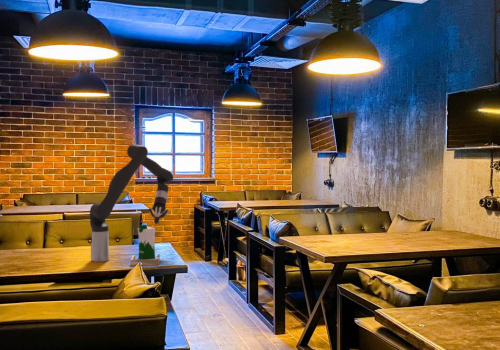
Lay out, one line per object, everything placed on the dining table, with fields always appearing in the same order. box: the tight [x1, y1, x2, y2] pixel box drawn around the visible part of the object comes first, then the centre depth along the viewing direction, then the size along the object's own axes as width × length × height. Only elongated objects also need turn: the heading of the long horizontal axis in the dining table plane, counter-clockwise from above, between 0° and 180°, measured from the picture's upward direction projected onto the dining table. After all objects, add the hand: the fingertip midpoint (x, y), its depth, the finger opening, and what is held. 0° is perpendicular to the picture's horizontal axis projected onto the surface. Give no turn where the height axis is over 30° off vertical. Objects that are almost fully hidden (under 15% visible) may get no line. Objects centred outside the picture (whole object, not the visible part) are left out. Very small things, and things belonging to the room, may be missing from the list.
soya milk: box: [137, 224, 156, 260], centre depth 291 cm, size 9×9×20 cm
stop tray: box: [129, 253, 161, 267], centre depth 279 cm, size 15×15×3 cm
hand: (156, 223), depth 306 cm, fingers closed
